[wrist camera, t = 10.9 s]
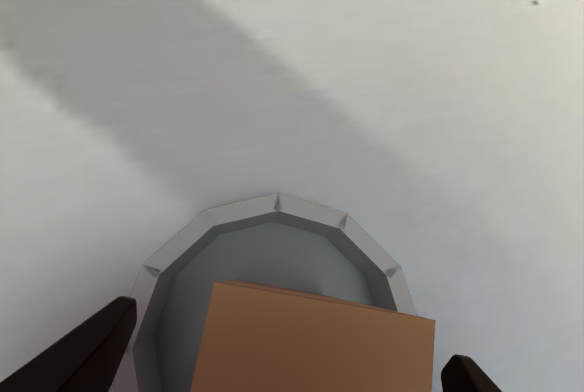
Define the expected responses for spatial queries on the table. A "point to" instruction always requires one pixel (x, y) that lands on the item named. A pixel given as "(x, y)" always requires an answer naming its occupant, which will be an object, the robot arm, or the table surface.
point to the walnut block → (309, 344)
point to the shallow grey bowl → (247, 278)
